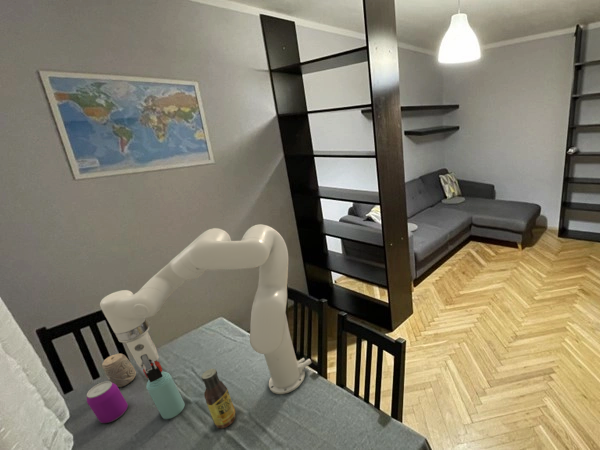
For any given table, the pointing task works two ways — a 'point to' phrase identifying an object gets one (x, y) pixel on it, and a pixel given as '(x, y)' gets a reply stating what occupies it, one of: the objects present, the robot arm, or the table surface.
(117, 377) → the carving
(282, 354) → the robot arm
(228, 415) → the sauce bottle
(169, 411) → the water bottle
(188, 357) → the table surface
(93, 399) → the beverage can
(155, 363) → the cap
